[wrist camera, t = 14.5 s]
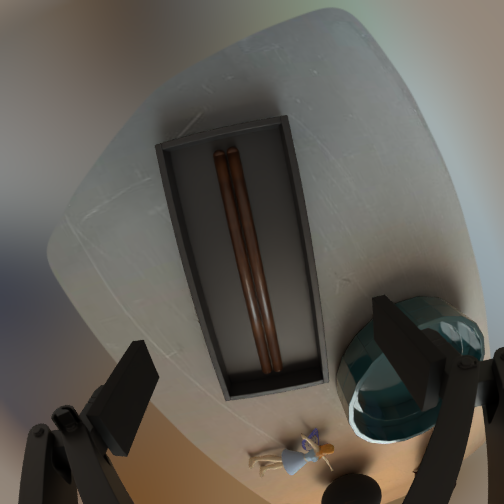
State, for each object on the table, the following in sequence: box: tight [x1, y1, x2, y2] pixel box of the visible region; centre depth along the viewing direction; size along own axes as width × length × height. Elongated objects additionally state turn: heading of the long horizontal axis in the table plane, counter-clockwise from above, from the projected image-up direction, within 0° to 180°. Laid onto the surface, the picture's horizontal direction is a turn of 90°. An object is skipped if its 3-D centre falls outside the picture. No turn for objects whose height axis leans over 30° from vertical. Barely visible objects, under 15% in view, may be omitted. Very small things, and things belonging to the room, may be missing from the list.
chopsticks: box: [213, 146, 283, 374], centre depth 28 cm, size 23×2×1 cm, turn 12°
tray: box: [155, 115, 329, 401], centre depth 28 cm, size 11×26×3 cm, turn 12°
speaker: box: [321, 474, 382, 504], centre depth 34 cm, size 10×10×10 cm
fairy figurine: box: [249, 428, 334, 477], centre depth 34 cm, size 12×5×12 cm
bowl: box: [336, 296, 485, 444], centre depth 29 cm, size 18×18×6 cm
